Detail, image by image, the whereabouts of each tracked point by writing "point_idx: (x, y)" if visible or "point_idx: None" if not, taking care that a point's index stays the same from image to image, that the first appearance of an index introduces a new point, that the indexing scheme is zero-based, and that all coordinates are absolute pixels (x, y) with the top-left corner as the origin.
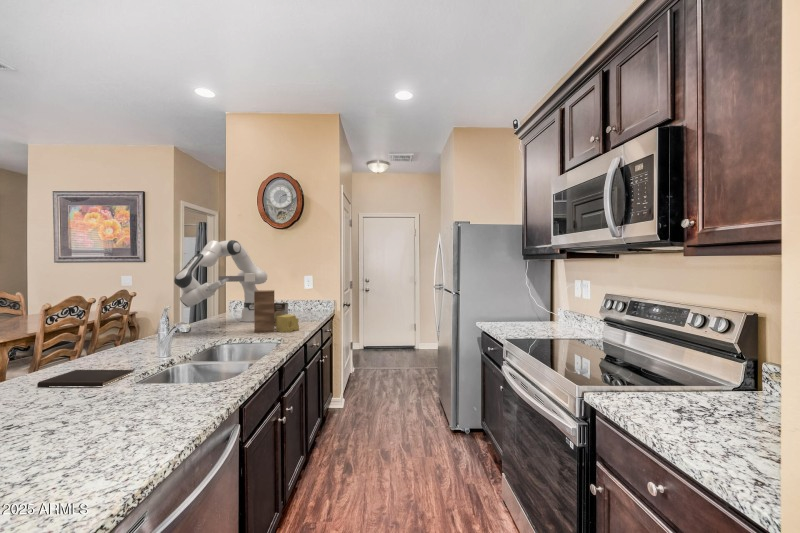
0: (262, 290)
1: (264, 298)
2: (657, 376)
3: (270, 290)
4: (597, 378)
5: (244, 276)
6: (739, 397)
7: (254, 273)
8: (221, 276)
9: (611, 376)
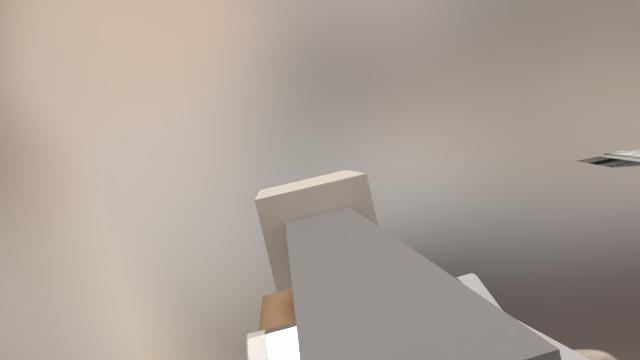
0: (280, 324)
1: None
2: (591, 163)
3: None
4: (625, 166)
5: (373, 206)
6: (629, 152)
7: (297, 181)
8: (492, 316)
9: (610, 166)
